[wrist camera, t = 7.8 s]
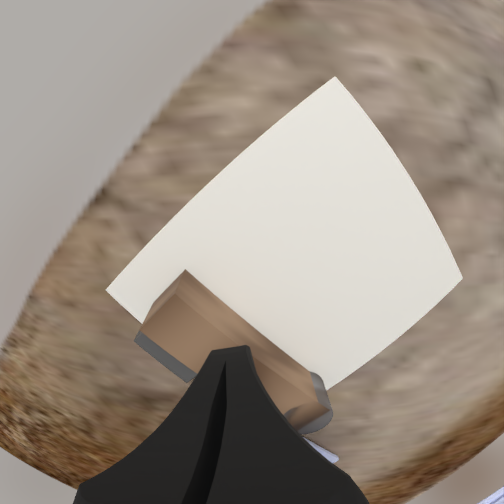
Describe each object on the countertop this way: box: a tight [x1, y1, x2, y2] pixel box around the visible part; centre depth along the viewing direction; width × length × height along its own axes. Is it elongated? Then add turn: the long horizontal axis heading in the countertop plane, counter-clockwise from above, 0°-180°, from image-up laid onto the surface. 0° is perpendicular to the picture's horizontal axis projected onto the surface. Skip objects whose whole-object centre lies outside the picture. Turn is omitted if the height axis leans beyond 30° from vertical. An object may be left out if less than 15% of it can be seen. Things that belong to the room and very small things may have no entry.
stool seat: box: [106, 77, 463, 390], centre depth 17 cm, size 18×16×4 cm
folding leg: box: [140, 269, 333, 434], centre depth 17 cm, size 13×3×3 cm, turn 45°
